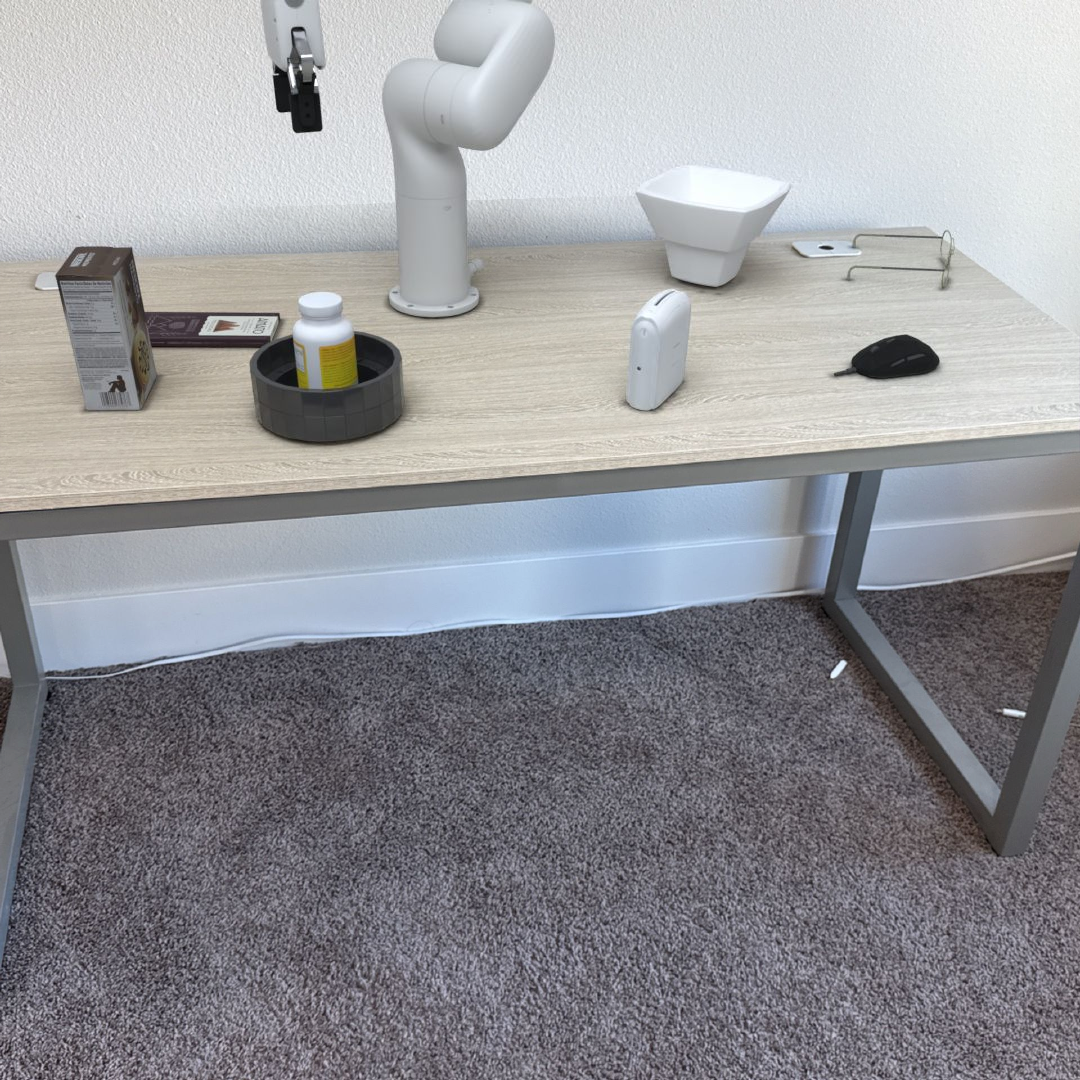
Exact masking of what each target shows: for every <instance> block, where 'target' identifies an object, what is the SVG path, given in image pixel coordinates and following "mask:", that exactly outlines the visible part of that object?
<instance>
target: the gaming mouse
mask: <svg viewBox="0 0 1080 1080" xmlns="http://www.w3.org/2000/svg"><path fill="white" fill-rule="evenodd" d="M940 362H941V361H940V357H939V355H938V354H937V352H935V351H934V349H933V348H932V347H931V346H930V345H929V344H927V343H925V342H924V341H922V340H920V339H919V338H917V337H915V336H912V335H910V334H907V333H906V334H905V333H904V334H898V335H893V336H888V337H884V338H882V339H880V340H877V341H875V342H873V343H870V344H868V346H866V347H864V348H862V349H860V350H859V351H857V353H855V354H854V355H853V356H852V358H851V361H850V364H851V366H852V367H848V368H846V369H843V370H841V371H837V372H834V373H833V376H834V377H838V376H841V375H845V374H846V375H848V374H853V373H855V372H858V373H860V374H862V375H865V376H868V377H871V378H877V379H884V378H885V379H886V378H895V377H903V376H911V375H920V374H925V373H927V372H929V371H932V370H934V369H937V367H939V365H940Z"/></svg>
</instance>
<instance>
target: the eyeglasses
mask: <svg viewBox="0 0 1080 1080" xmlns="http://www.w3.org/2000/svg"><path fill="white" fill-rule="evenodd" d="M946 233H948V234H949V237H950V244H949V251H948V253H946V255H947V257H946V259H945V260H944V257H943V253H942V251H943V241H944V237H945V234H946ZM859 237H880V238H881V237H882V238H910V239H911V238H913V239H941V241H940V249H939V252H940V253H939V254H940V258H941V261H942V262H943V264H944V266H943V268H924V267H923V268H920V267H896V266H894V267H893V266H879V265H852V266H851V267H850V268H849V269H848V271H847V275H846V280H847V281H851V272H852V270H855V269H868V270H871V269H873V270H895V271H896V270H897V271H921V272H942V275H941V283H940V284H941V288H945V287H947V284H948V281H949V274H950V265H951V260H952V259H951V258H952V256H953V255H955V253H954V252H955V246H953V248H952V245H955V238H954V237H952V233H951V231H949V230H948V229H946V230H944V231H943V233H942V236H940V235H939V236H937V235H936V236H935V235H934V236H933V235H909V234H908V235H905V234H884V233H858V234H857V235H855V236H854V238H853V240H852V248H857V247H856V245H857V243H856V242H857V239H858V238H859ZM946 267H947V272H946ZM945 272H946V273H947V274H946V281H945V284H944V276H945Z"/></svg>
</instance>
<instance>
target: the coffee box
mask: <svg viewBox="0 0 1080 1080" xmlns="http://www.w3.org/2000/svg"><path fill="white" fill-rule="evenodd" d="M54 277H55V281H56V285H57V289H58V294H59V298H60V302H61V307H62V311H63V315H64V319H65V324H66V327H67V331H68V332H67V333H68V335H69V336H68V337H69V340H70V341H69V342H70V344H71V345H70V346H71V350H72V353H73V358H74V361H75V366H76V370H77V375H78V376H77V377H78V380H79V384H80V389H81V393H82V397H83V401H84V407H85V410H86V411H139V410H142V409H143V407H144V405H145V402H146V400H147V398H148V396H149V394H150V392H151V389H152V387H153V385H154V383H155V381H156V378H157V376H158V372H157V368H156V364H155V363H156V362H155V359H154V353H153V348H152V346H151V342H150V337H149V332H148V327H147V322H146V316H145V312H146V311H145V306H144V301H143V297H142V291H141V287H140V282H139V276H138V272H137V266H136V262H135V256H134V251H133V247H132V246H127V247H123V246H121V247H113V246H106V245H105V246H104V245H103V246H102V245H101V246H100V245H94V246H93V245H92V246H91V245H90V246H88V245H87V246H85V245H84V246H83V245H82V246H75V247H74V249H73V250H72V252H70V254H69V255H68V257H67V258H66V260H65V261H64V262H63V264H62V265H61V267H60V268H59V269H58V270H57V272H56V273H55V275H54Z"/></svg>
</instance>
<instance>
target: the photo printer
mask: <svg viewBox="0 0 1080 1080" xmlns="http://www.w3.org/2000/svg"><path fill="white" fill-rule="evenodd" d="M691 317H692V302H691V298H689V295H688V294H687V293H686V292H685V291H683V290H677V289H673V288H669V289H665V290H662V291H660V292H658V293H656V294H655V295H653V296H652V297H651V298H650V299H649V300H647V302H646V303H645V304H644V305H643V306H642V307H641V308H640V310H639V311H638V312H637V314H636V315H635V317H634V319H633V321H632V324H631V329H630V341H629V342H630V343H629V354H628V369H627V381H626V393H625V394H626V395H625V397H626V398H625V401H626V403H628V404H629V406H630V407H632V408H633V409H636V410H639V411H645V412H646V411H647V412H648V411H651V410H655V409H657V408H658V407H659V406H660V405H661V404H662V403H664V402H665V401H667V399H668V398H670V396H671V395H672V394H673V393H674V392H676V390H677V389H678V388H679V387H680V386H681V385H682V383H683V381H684V378H685V374H686V373H685V372H686V364H687V355H688V345H689V336H690V325H691Z"/></svg>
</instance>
